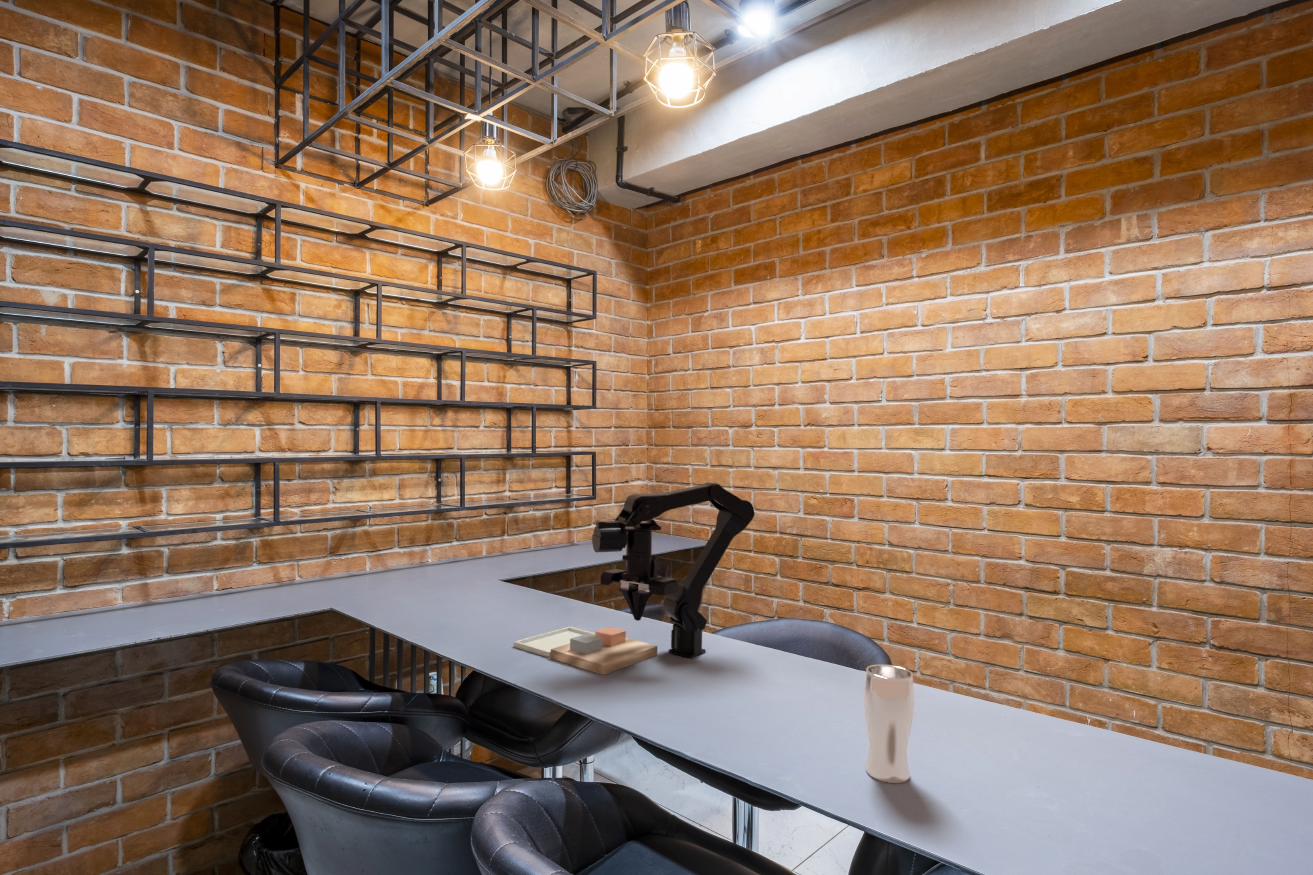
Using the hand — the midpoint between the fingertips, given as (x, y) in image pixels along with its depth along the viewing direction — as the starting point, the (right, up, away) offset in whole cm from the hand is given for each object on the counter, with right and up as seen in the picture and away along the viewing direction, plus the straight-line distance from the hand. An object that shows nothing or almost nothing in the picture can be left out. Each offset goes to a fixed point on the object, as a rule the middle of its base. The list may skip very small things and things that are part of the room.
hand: (637, 620), depth 150 cm
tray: (-19, -8, +9) cm, 23 cm away
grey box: (-11, -6, -1) cm, 13 cm away
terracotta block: (-7, -6, +5) cm, 10 cm away
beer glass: (+38, -9, -51) cm, 65 cm away
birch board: (-7, -8, 0) cm, 11 cm away
